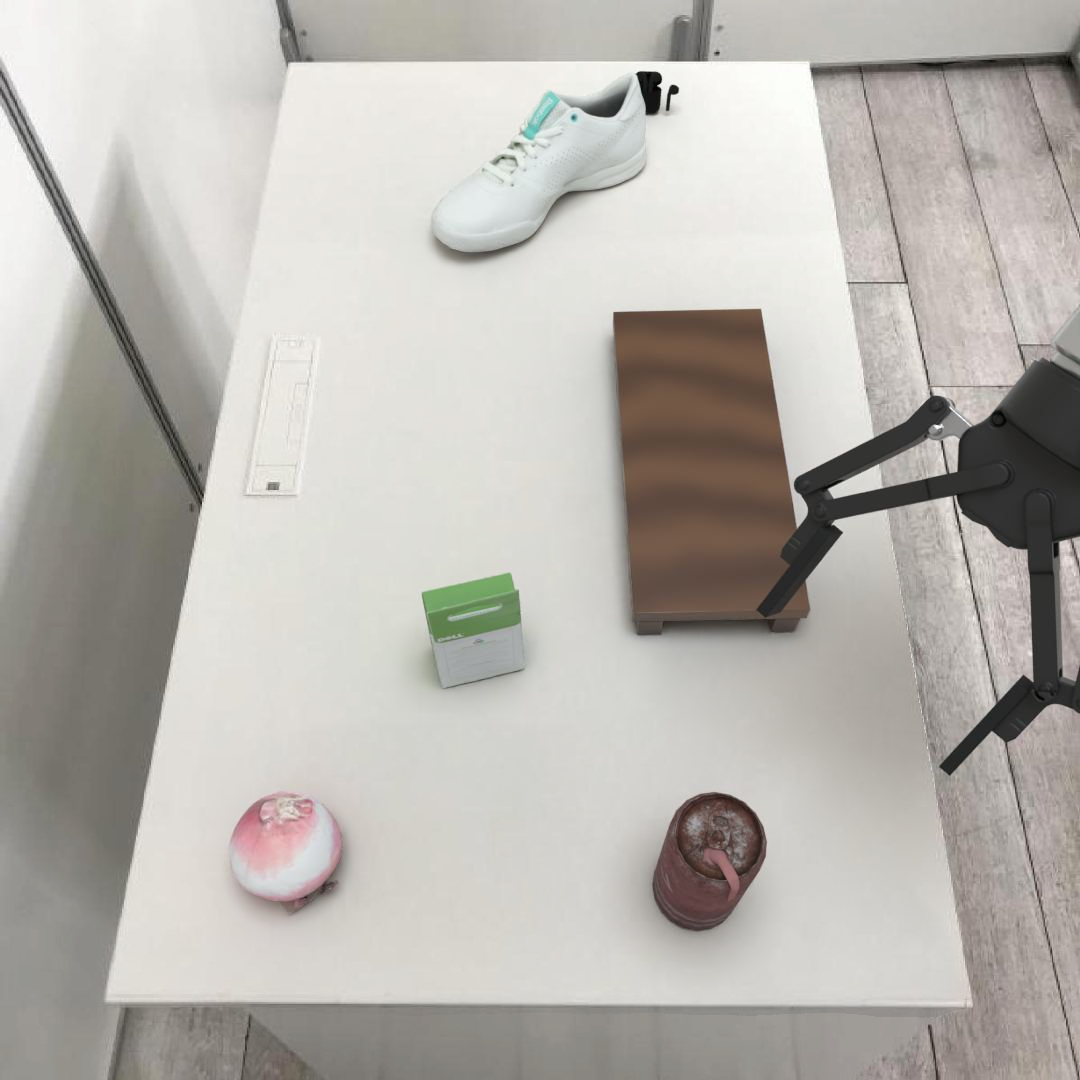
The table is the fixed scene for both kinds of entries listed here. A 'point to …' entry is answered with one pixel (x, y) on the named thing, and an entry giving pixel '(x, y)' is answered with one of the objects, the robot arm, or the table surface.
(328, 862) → the onion
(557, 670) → the table surface
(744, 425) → the shelf
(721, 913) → the can
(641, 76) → the wireless earbuds
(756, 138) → the table surface
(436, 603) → the ink box
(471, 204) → the running shoe
